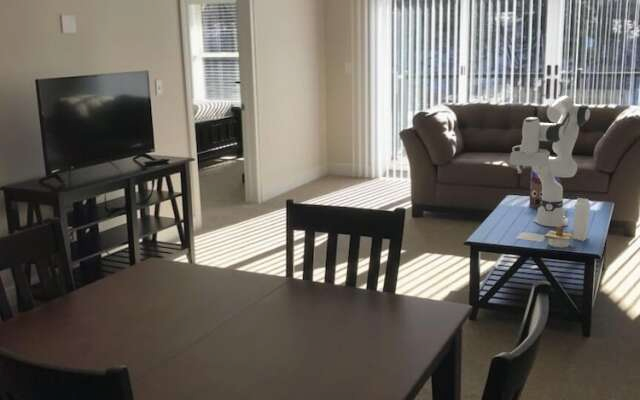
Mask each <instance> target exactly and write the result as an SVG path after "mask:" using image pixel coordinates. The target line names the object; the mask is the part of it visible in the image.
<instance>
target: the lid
mask: <svg viewBox="0 0 640 400" xmlns="http://www.w3.org/2000/svg"><path fill="white" fill-rule="evenodd" d="M544 235H545V237H544V238H545V239H549V238H551V239H559V240H566V241H569V240H570V241H571V239H573V235H574V233H573V232H566V231H564V226H555V230H549V231H548V232H547V233H545V234H544Z"/></svg>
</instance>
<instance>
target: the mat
mask: <svg viewBox="0 0 640 400" xmlns="http://www.w3.org/2000/svg"><path fill="white" fill-rule="evenodd" d="M545 235H546V234H541V233H540V234H539V233H533V232H525V231H524V232H523V231H522V232H521V233H519V234H518V235H517V236H516V237H515V239H518V240H526V241H532V242H540V243H542V242H543V241H544V240H545V239H546V238H544V237H545Z"/></svg>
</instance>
